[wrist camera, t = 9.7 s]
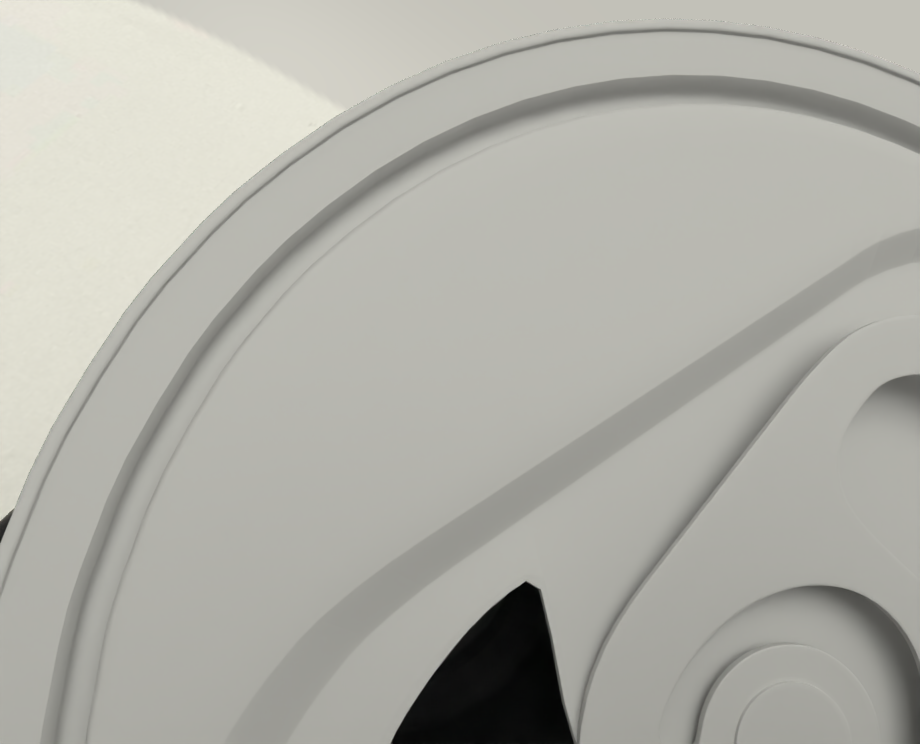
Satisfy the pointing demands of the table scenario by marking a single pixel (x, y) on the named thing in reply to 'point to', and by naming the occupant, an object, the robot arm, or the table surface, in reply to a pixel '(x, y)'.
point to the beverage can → (510, 422)
